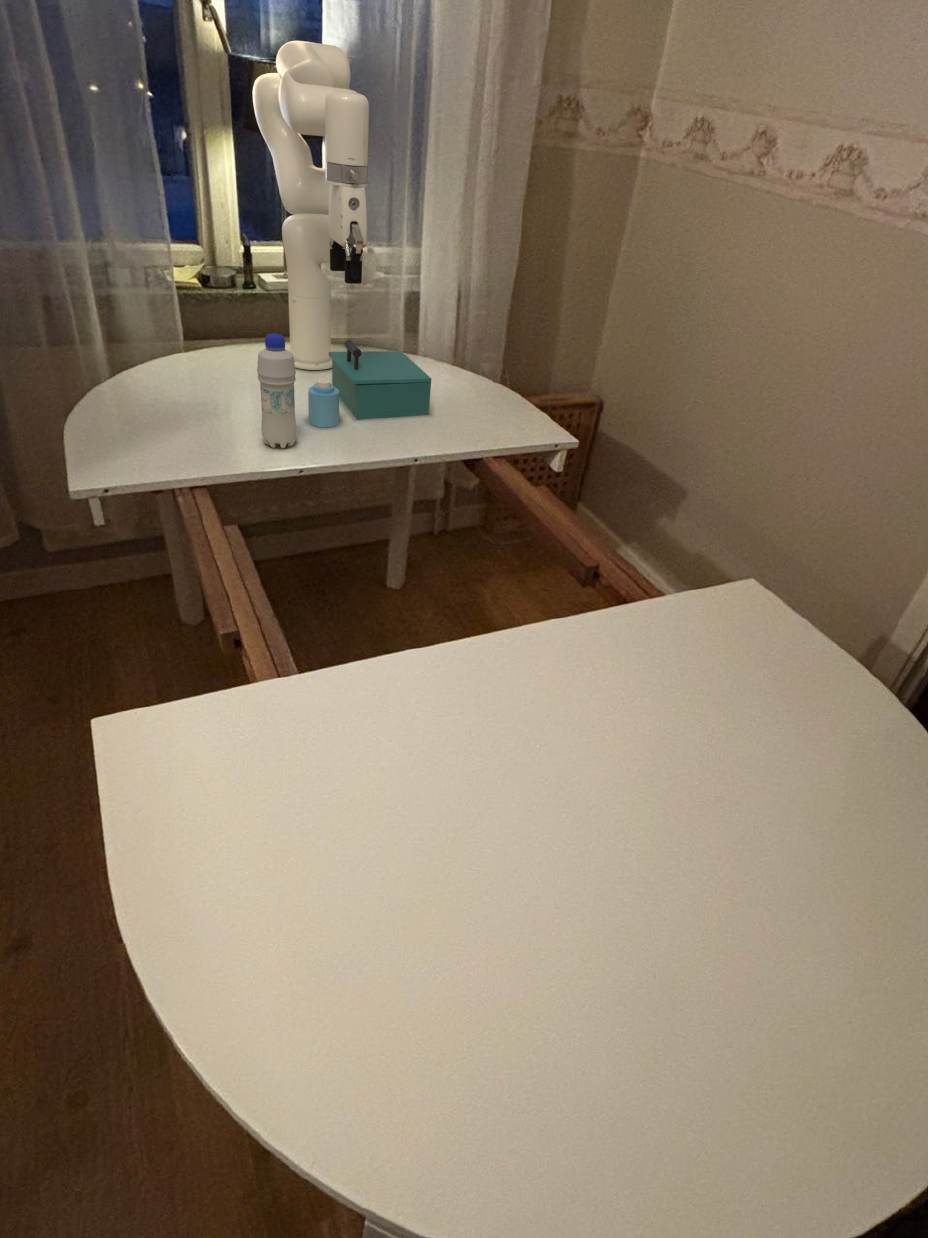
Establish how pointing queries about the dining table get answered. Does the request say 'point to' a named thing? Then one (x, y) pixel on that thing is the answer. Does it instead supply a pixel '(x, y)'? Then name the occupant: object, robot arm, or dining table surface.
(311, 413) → the water bottle
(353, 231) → the robot arm
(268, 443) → the bottle
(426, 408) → the teal hollow box
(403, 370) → the lid
